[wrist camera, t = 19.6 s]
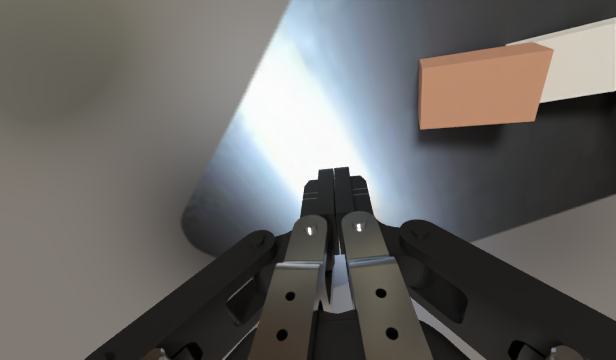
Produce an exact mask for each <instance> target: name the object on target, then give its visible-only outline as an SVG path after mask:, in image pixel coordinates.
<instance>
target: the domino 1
mask: <svg viewBox="0 0 616 360" xmlns="http://www.w3.org/2000/svg"><path fill="white" fill-rule="evenodd" d="M553 52H554V49H551V48H548V47H545V46H543V45H540V44H537V43H534V42H529V43H523V44H516V45H510V46H503V47H497V48H490V49H484V50H478V51H471V52H465V53H458V54H452V55H445V56H439V57H433V58H426V59H420V60H419V89H418V119H419V124H420V129H433V128H447V127H460V126H474V125H488V124H502V123H516V122H529V121H535V117H536V113H537V110H538V106H539V103H540V99H541V95H542V92H543V88H544V84H545V81H546V77H547V74H548V70H549V66H550V63H551V59H552V55H553Z"/></svg>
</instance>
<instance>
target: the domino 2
mask: <svg viewBox="0 0 616 360" xmlns="http://www.w3.org/2000/svg"><path fill="white" fill-rule="evenodd" d="M529 42H534V43H537V44H540V45H543V46H545V47H548V48H551V49H554V52H553V55H552V59H551V63H550V66H549V70H548V74H547V77H546V81H545V84H544V88H543V92H542V95H541V99H540V103H543V102H549V101H555V100H561V99H568V98H574V97H580V96H586V95H592V94H599V93H605V92H611V91H616V18H611V19H607V20H603V21H599V22H595V23H591V24H587V25H583V26H579V27H575V28H571V29H567V30H563V31H559V32H554V33H550V34H546V35H542V36H538V37H534V38H530V39H526V40H522V41H518V42H514V43H510V44H506V45H505V46H510V45H516V44H523V43H529Z"/></svg>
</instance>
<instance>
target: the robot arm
mask: <svg viewBox="0 0 616 360" xmlns="http://www.w3.org/2000/svg"><path fill="white" fill-rule="evenodd" d="M334 177H335V179H334ZM339 241H340V249H341V255H342V254H345V259H346V268H347V275H348V281H349V287H350V293H351V299H352V305H353V310H350V311H347V312H343V313H339V314H335V313H332V300H333V285H334V264H335V257H334V255H340V252H339ZM250 278H252V280H251V281H250V282H249V283H248V284H247V285H245V286H244V287H243V288H242V289H241V290H240V291H239V292H238V293H237V294H235V295H234V296H233V297H232V298H231V299H230V300H229V301H228V299H229V297H230V296H231V295H232V294H234V293H235V292H236V291H237V290H238V289H239V288H240V287H241V286H243V285H244V284H245V283H246V282H247V281H248V280H249V279H250ZM410 297H411V298H412V299H414V300H415V301H416V302H417V303H418V304H420V305H421V306H422V307H424V308H425V309H426V310H427V311H428V312H429V313H431V314H432V315H433V316H434V317H436V318H437V319H438V320H439V321H440V322H442V323H443V324H444V325H445V326H446V327H448V328H449V329H450V330H451V331H453V332H454V333H455V334H456V335H457V336H459V337H460V338H461V339H462V340H463V341H465V342H466V343H467V344H468V345H470V346H471V347H472V348H473V349H474V350H476V351H477V352H478V353H479V354H480V355H482V356H483V357H484V358H485V359H487V360H616V321H615V320H613V319H611V318H609V317H607V316H605V315H604V314H602V313H599V312H598V311H596V310H594V309H592V308H590V307H588V306H587V305H585V304H583V303H581V302H579V301H577V300H575V299H573V298H572V297H570V296H568V295H566V294H564V293H562V292H560V291H558V290H557V289H555V288H553V287H551V286H549V285H547V284H545V283H543V282H542V281H540V280H538V279H536V278H534V277H532V276H530V275H528V274H527V273H525V272H523V271H521V270H519V269H517V268H515V267H513V266H512V265H509V264H508V263H506V262H504V261H502V260H500V259H498V258H496V257H494V256H493V255H491V254H489V253H487V252H485V251H483V250H481V249H480V248H478V247H476V246H474V245H472V244H470V243H468V242H467V241H465V240H463V239H461V238H459V237H457V236H455V235H453V234H452V233H450V232H448V231H446V230H444V229H442V228H440V227H438V226H436V225H435V224H433V223H431V222H428V221H425V220H409V221H407V222H405V223H403V224H402V225H401V227H400V228H398V227H392V226H387V225H385V224H382V223H381V222H379V221H378V220H377V219H376V218H375V216H374V214H373V210H372V206H371V201H370V197H369V192H368V189H367V184H366V180H365V179H363V178H362V177H361V176H350V174H349V167H341V168H334V171H333V168H332V169H322V170H319V173H318V180H309V182H308V183H307V184H306V185H305V187H304V194H303V201H302V208H301V215H300V219H299V220H297V221H296V222H295V224H294V226H293V230H292V231H290V232H288V233H286V234H283V235H280V236H276V237H274V235H273V234H272V233H271V232H269V231H267V230H258V231H254V232H252V233H250V234H248V235H247V236H245V237H244V238H243V239H242V240H240V241H239V242H238V243H236V244H235V245H234V246H232V247H231V248H230V249H228V250H227V251H226V252H224V253H223V254H222V255H220V256H219V257H218V258H216V259H215V260H214V261H213V262H211V263H210V264H209V265H207V266H206V267H205V268H203V269H202V270H201V271H199V272H198V273H197V274H195V275H194V276H193V277H191V278H190V279H189V280H188V281H186V282H185V283H184V284H182V285H181V286H180V287H178V288H177V289H176V290H174V291H173V292H172V293H170V294H169V295H168V296H166V297H165V298H164V299H163V300H161V301H160V302H159V303H157V304H156V305H155V306H153V307H152V308H151V309H149V310H148V311H147V312H145V313H144V314H143V315H141V316H140V317H139V318H137V319H136V320H135V321H134V322H132V323H131V324H130V325H128V326H127V327H126V328H124V329H123V330H122V331H120V332H119V333H118V334H116V335H115V336H114V337H113V338H111V339H110V340H108V341H107V342H106V343H105V344H103V345H102V346H101V347H99V348H98V349H97V350H96V351H94V352H93V353H92V354H90V355H89V356H88V357H87V358H86V359H85V360H222V358H223V357H225V356H226V354H227V353H228V352H229V351H230V350H231V349H232V348H233V347H234V346H235V345H236V344H237V343H238V342H239V341H240V340H241V339H242V338H243V337H244V336H245V335H246V334H247V333H248V332H249V331H250V329H252V328H253V326H255V325H256V323H257V322H258V321H259V323H258V327H257V328H255V329H254V330H253V331H251V332H250V333H249V334H248V335H247V336H246V337H245V338H244V339H243V340H242V342H240V344H239V345H238V346H237V347H236V348H235V349H234V350H233V351H232V352H231V353H230V354H229V356H228V357H227V358H226V359H225V360H470V359H469V358H468V357H467V356H466V355H465V354H463V353H462V352H461V351H460V350H459V349H458V348H457V347H456V346H455V345H454V344H452V343H451V342H450V341H449V340H448V339H447V338H446V337H445V336H444V335H442V334H441V333H440V332H438V331H437V330H436V329H434V328H433V327H431V326H430V325H428V324H426V323H425V322H423V321H420V320H418V317H417V314H416V312H415V309H414V306H413V304H412V301H411V298H410ZM227 301H228V302H227Z"/></svg>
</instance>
